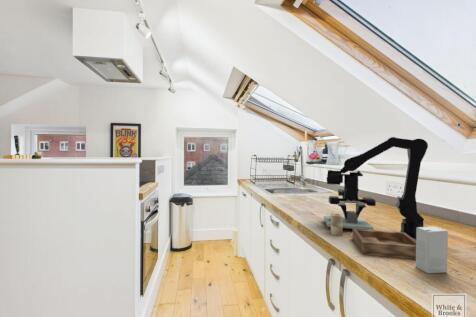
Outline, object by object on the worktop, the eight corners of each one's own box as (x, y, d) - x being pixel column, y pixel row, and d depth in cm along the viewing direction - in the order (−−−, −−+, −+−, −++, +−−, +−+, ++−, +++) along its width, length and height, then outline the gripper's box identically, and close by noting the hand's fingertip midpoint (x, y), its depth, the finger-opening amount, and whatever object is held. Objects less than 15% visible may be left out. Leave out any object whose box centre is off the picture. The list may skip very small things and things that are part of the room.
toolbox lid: (363, 220, 110) (363, 209, 110) (373, 229, 96) (373, 217, 96) (323, 218, 114) (323, 207, 114) (327, 226, 101) (327, 215, 101)
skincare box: (433, 265, 69) (433, 225, 68) (448, 273, 64) (449, 230, 64) (414, 266, 68) (414, 226, 68) (428, 274, 64) (429, 231, 63)
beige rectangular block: (340, 232, 98) (340, 214, 98) (342, 235, 94) (342, 216, 94) (330, 231, 99) (330, 213, 99) (332, 235, 95) (332, 215, 95)
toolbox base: (404, 243, 86) (404, 232, 86) (425, 259, 72) (425, 247, 72) (352, 239, 90) (352, 228, 90) (362, 254, 77) (363, 242, 77)
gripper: (368, 183, 110) (367, 216, 111) (326, 182, 115) (326, 213, 115) (376, 187, 99) (375, 222, 100) (330, 185, 104) (330, 220, 104)
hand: (350, 219), depth 105 cm, fingers closed on toolbox lid, 4 cm apart
